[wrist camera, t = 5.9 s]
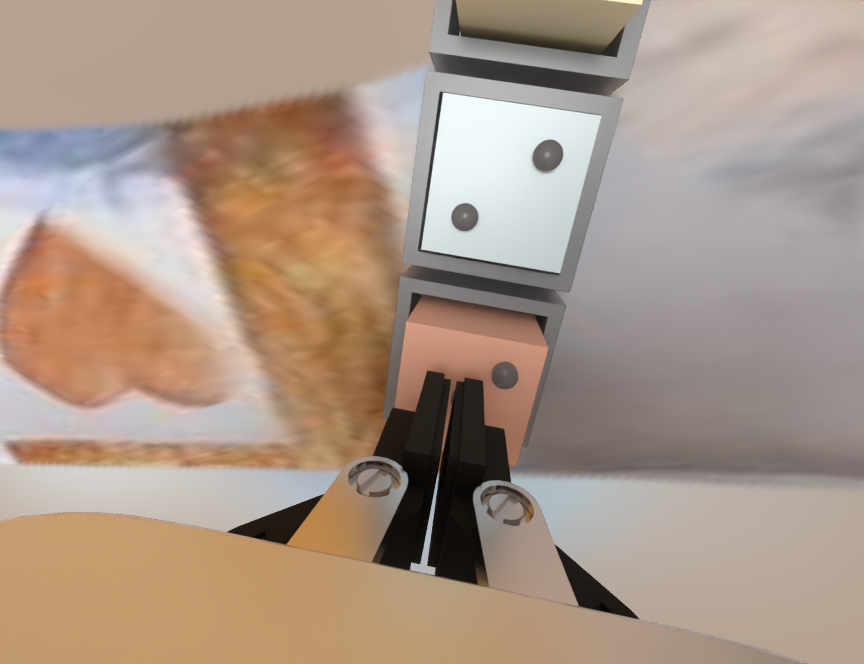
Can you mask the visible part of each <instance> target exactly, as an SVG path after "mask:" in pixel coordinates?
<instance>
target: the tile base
mask: <svg viewBox="0 0 864 664" xmlns="http://www.w3.org/2000/svg"><path fill="white" fill-rule="evenodd" d="M421 294H425V295H430V296H436V297H441V298H447V299H452V300H458V301H463V302H469V303H475V304H480V305H486V306H491V307H497V308H502V309H508V310H513V311H519V312H525V313H530V314H534V315H535V317H536V320H537V322H538V324H539V327H540V329H541V332H542V334H543V336H544V339H545V341H546V343H547V346H548V351H547V355H546V359H545V362H544V366H543V370H542V373H541V377H540V381H539V384H538V388H537V392H536V395H535V399H534V403H533V406H532V410H531V414H530V417H529V421H528V425H527V428H526V432H525V436H524V439H523V443H522V446H524V447H527V445H528V441H529V437H530V434H531V430H532V427H533V423H534V419H535V416H536V412H537V409H538V405H539V401H540V398H541V394H542V391H543V387H544V383H545V380H546V376H547V373H548V369H549V365H550V362H551V358H552V355H553V351H554V347H555V344H556V340H557V337H558V333H559V329H560V326H561V322H562V319H563V315H564V311H565V308H566V305H565V304H564V303H563V301H562V300H561V299H560V297H559V296H558V295H557V293H556V292H555V291H554V290H553V289H548V288H542V287H536V286H531V285H525V284H519V283H513V282H508V281H502V280H496V279H491V278H485V277H479V276H474V275H468V274H462V273H456V272H451V271H445V270H439V269H434V268H428V267H422V266H417V265H412V266H411V267H410V268H409V269H408V270H407V271H406V272H404V273H403V274H402V275H401V276H400V283H399V291H398V299H397V307H396V315H395V322H394V330H393V338H392V346H391V354H390V362H389V370H388V378H387V386H386V394H385V402H384V409H383V417H382V418H385V419H388V417H389V415H390V412H391V410H392V408H395V401H396V393H397V386H398V379H399V372H400V364H401V357H402V350H403V342H404V335H405V328H406V321H407V320H408V318H409V317H410V315H411V313H412V312H413V310H414V308H415V307H416V305H417V304H418V302H419V300H420V298H421Z"/></svg>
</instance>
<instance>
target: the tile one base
mask: <svg viewBox="0 0 864 664" xmlns="http://www.w3.org/2000/svg"><path fill="white" fill-rule="evenodd" d="M650 1H651V0H643V2H642V5H641V6H640V8H639V9H638V10H637V11H636V12H635V14H634V15H633V16H632V17H631V18H630V20H629V21H628V22H627V23H626V25H625V26H624V27H623V28H622V29H621V31H620V32H619V33H618V34H617V35H616V37H615V38H614V39H613V40H612V42H611V43H610V44H609V45H608V46H607V48H606V49H605V50H604V51H603V52H602V54H601V55H596V54H588V53H581V52H573V51H566V50H559V49H551V48H544V47H536V46H529V45H522V44H514V43H507V42H500V41H492V40H485V39H477V38H470V37H463V36H459V32H460V26H459V19H458V12H457V5H456V0H435V7H434V14H433V22H432V30H431V38H430V46H429V54H430V56H431V59H432V61H433V64H434V67H435V69H436V72H439V73H447V74H454V75H461V76H468V77H475V78H482V79H489V80H496V81H503V82H510V83H517V84H524V85H531V86H538V87H545V88H552V89H559V90H566V91H573V92H580V93H587V94H594V95H601V96H609V95H610V94H611V93H613V92H614V91H615V90H616V89H618V88H619V87H620V86H621V85H623V84H624V83H625V82H626V81H628V80H629V77H630V74H631V70H632V66H633V63H634V59H635V56H636V52H637V48H638V45H639V41H640V38H641V34H642V30H643V27H644V23H645V19H646V16H647V12H648V9H649V5H650Z"/></svg>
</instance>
